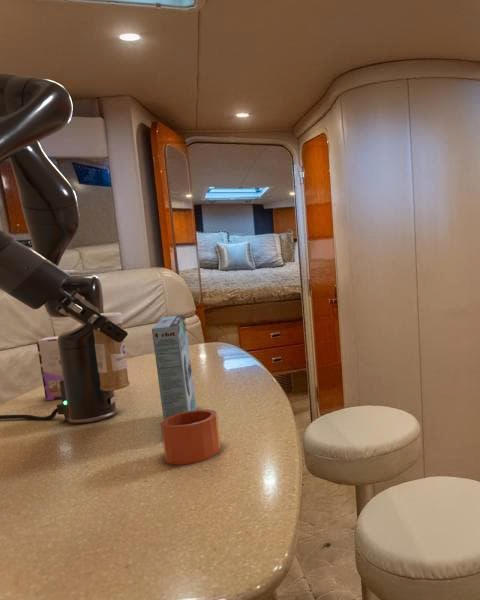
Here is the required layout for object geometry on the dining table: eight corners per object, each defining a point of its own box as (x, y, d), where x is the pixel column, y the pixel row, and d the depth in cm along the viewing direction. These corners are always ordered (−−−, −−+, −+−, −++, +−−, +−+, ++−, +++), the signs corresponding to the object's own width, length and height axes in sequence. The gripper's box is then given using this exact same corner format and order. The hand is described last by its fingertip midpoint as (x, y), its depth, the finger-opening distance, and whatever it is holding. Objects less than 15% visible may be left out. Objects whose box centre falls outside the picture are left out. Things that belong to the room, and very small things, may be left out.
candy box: (111, 388, 144) (104, 330, 142) (104, 393, 139) (96, 334, 137) (53, 394, 140) (45, 336, 138) (44, 401, 134) (35, 339, 132)
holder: (154, 464, 91) (149, 427, 90) (185, 443, 100) (181, 409, 99) (202, 464, 90) (197, 426, 89) (229, 443, 99) (226, 409, 98)
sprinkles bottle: (130, 388, 90) (121, 313, 89) (99, 393, 88) (89, 316, 86) (129, 382, 94) (121, 310, 93) (100, 387, 92) (90, 313, 90)
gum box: (191, 435, 105) (179, 325, 102) (163, 440, 103) (149, 328, 100) (197, 408, 122) (186, 314, 120) (173, 411, 120) (161, 316, 118)
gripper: (45, 257, 78) (144, 324, 87) (42, 256, 89) (130, 316, 98) (5, 295, 75) (111, 360, 84) (6, 290, 86) (100, 347, 95)
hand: (121, 336), depth 91 cm, fingers closed on sprinkles bottle, 4 cm apart
